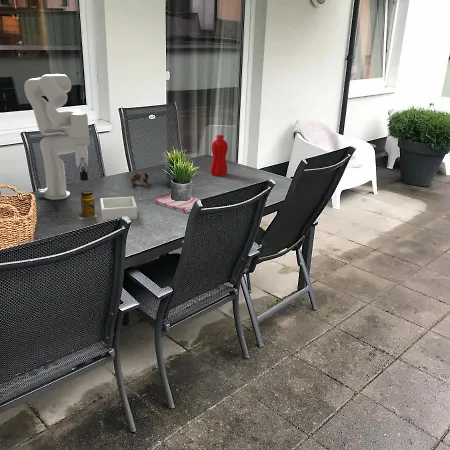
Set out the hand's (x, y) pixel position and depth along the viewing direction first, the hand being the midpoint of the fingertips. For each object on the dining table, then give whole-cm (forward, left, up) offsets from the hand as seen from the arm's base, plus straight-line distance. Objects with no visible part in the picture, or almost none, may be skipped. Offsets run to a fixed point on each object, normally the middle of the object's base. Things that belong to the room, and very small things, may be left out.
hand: (84, 177), depth 218 cm
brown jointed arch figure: (+31, +43, -20) cm, 56 cm away
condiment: (0, 0, -20) cm, 20 cm away
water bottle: (+81, +54, -20) cm, 99 cm away
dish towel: (+48, +7, -20) cm, 52 cm away
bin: (+15, -1, -19) cm, 24 cm away
